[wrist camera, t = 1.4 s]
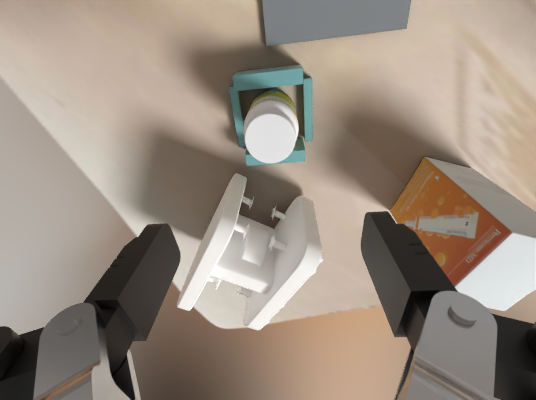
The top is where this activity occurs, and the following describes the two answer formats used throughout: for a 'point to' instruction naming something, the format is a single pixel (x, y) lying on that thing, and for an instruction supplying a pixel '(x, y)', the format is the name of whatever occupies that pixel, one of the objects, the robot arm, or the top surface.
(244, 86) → the teal corner cradle
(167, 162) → the top surface
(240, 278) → the cable organizer
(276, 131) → the supplement bottle
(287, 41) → the mat
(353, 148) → the top surface
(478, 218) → the small box
